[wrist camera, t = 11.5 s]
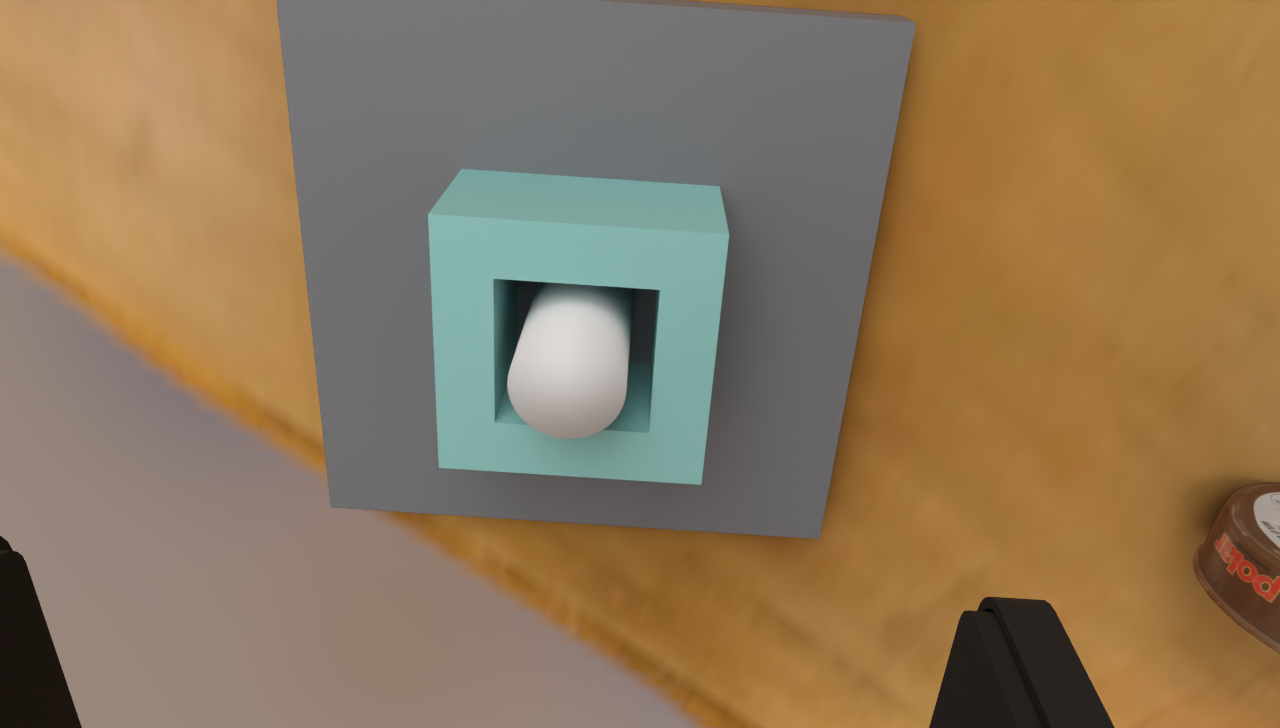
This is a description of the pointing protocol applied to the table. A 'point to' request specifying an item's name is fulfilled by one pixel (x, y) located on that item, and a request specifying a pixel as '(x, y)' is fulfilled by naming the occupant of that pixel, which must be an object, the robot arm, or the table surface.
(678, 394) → the collar
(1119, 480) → the table surface
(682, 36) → the post base
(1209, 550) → the tin
